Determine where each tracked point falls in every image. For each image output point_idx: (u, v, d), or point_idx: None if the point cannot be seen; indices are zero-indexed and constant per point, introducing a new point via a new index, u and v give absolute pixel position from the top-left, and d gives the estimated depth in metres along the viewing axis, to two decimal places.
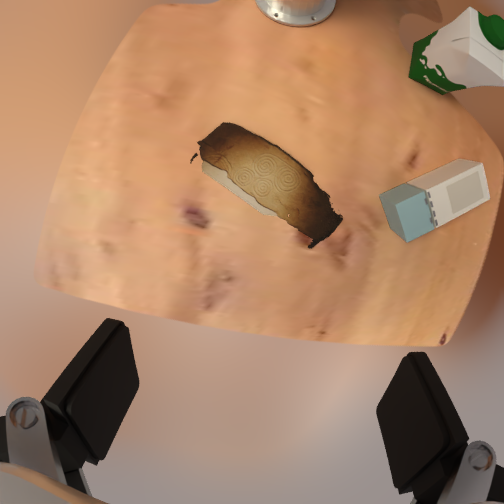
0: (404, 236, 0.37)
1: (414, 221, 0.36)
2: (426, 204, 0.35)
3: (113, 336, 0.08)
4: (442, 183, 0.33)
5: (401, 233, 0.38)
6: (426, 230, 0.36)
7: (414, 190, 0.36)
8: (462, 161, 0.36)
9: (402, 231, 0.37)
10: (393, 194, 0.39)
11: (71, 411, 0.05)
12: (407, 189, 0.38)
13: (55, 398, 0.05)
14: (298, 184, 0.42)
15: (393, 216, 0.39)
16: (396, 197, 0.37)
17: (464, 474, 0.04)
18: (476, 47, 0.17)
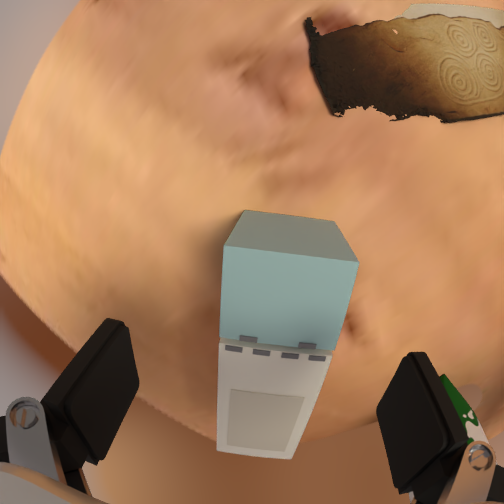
0: (245, 245, 0.13)
1: (274, 296, 0.13)
2: (299, 343, 0.14)
3: (113, 336, 0.08)
4: (316, 392, 0.15)
5: (250, 238, 0.14)
6: (227, 316, 0.14)
7: None
8: None
9: (262, 244, 0.13)
10: None
11: (71, 411, 0.05)
12: None
13: (55, 398, 0.05)
14: (444, 87, 0.14)
15: (299, 235, 0.15)
16: None
17: (464, 474, 0.04)
18: None
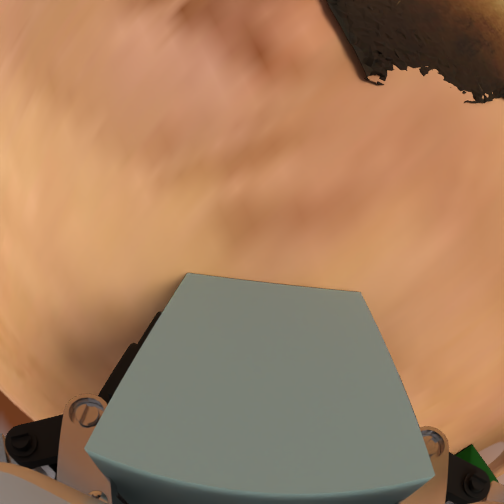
0: (138, 448, 0.04)
1: None
2: None
3: None
4: None
5: (162, 407, 0.05)
6: None
7: None
8: None
9: (184, 446, 0.04)
10: None
11: None
12: None
13: None
14: None
15: (291, 374, 0.06)
16: None
17: None
18: None
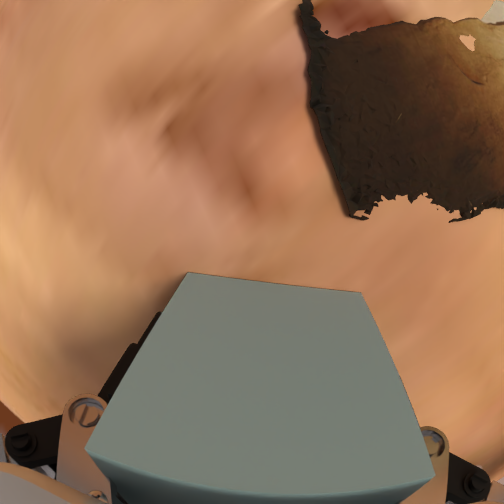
0: (138, 448, 0.04)
1: None
2: None
3: None
4: None
5: (163, 407, 0.05)
6: None
7: None
8: None
9: (185, 446, 0.04)
10: None
11: None
12: None
13: None
14: None
15: (292, 374, 0.06)
16: None
17: None
18: None
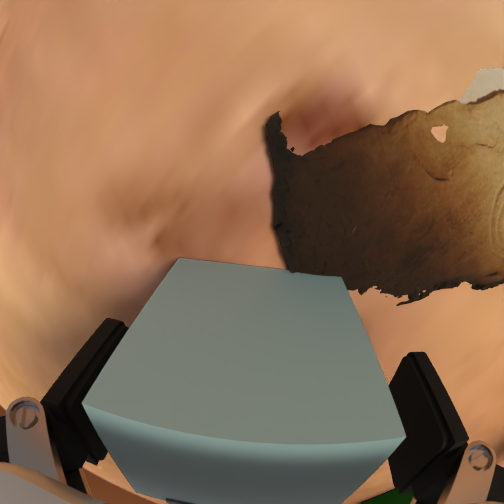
0: (130, 401, 0.04)
1: (213, 480, 0.05)
2: None
3: (113, 336, 0.08)
4: None
5: (153, 367, 0.05)
6: (137, 480, 0.05)
7: None
8: None
9: (171, 399, 0.05)
10: None
11: (71, 411, 0.05)
12: None
13: (55, 398, 0.05)
14: (493, 236, 0.09)
15: (270, 341, 0.07)
16: None
17: (464, 474, 0.04)
18: None
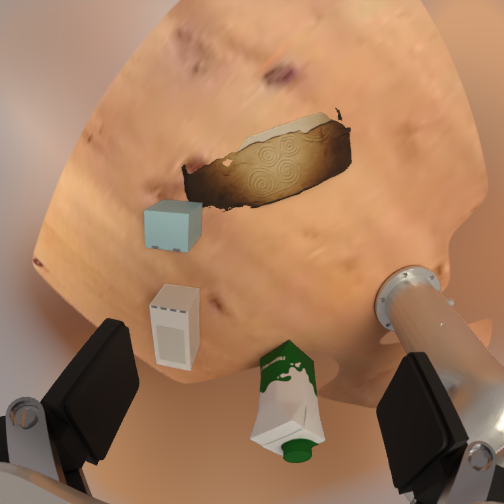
0: (151, 210, 0.35)
1: (162, 228, 0.35)
2: (173, 249, 0.36)
3: (113, 336, 0.08)
4: (187, 328, 0.41)
5: (155, 208, 0.36)
6: (147, 237, 0.36)
7: (192, 242, 0.38)
8: (196, 349, 0.48)
9: (157, 210, 0.35)
10: (197, 218, 0.39)
11: (71, 411, 0.05)
12: (195, 235, 0.39)
13: (55, 398, 0.05)
14: (251, 189, 0.39)
15: (176, 207, 0.37)
16: (193, 219, 0.37)
17: (464, 474, 0.04)
18: (293, 427, 0.32)
